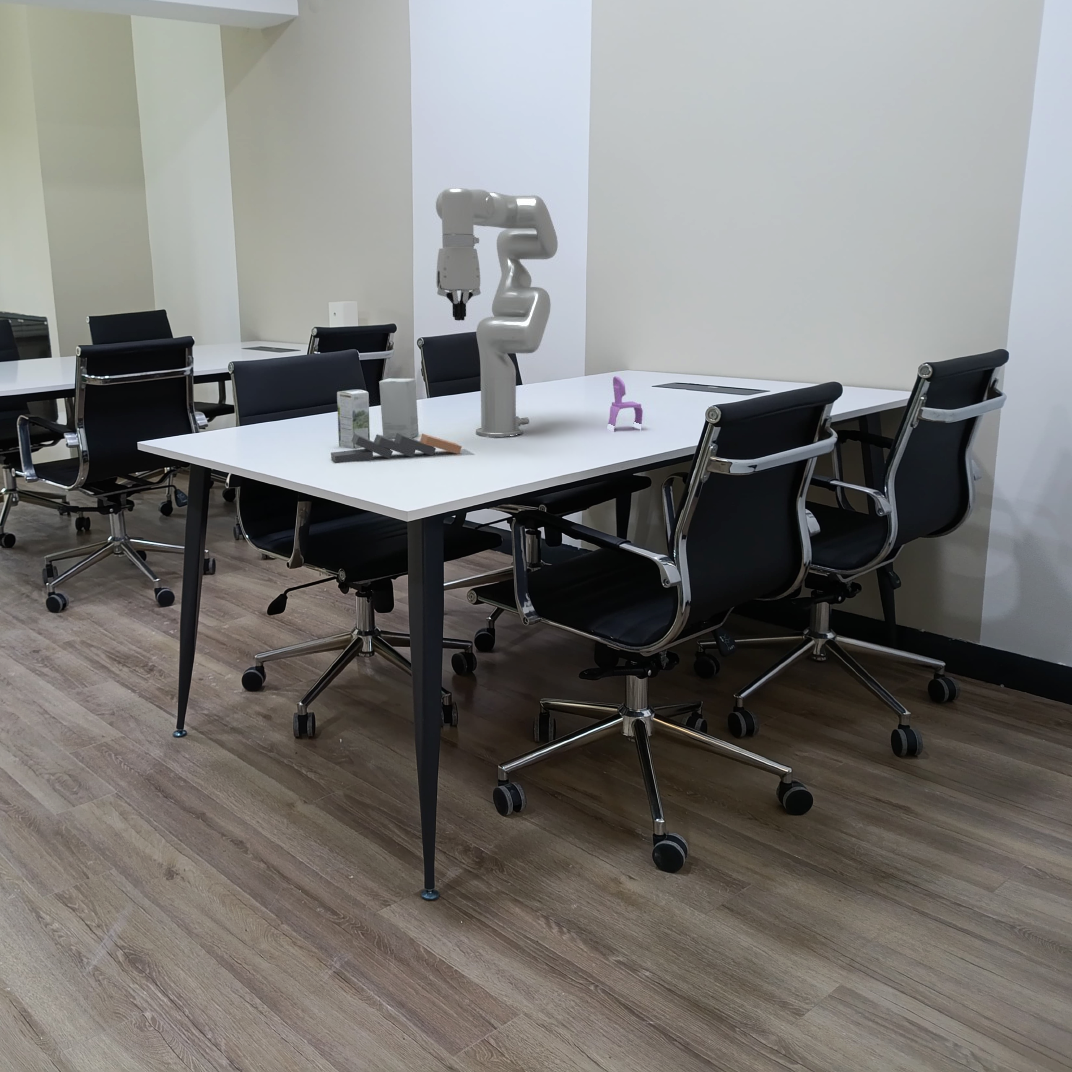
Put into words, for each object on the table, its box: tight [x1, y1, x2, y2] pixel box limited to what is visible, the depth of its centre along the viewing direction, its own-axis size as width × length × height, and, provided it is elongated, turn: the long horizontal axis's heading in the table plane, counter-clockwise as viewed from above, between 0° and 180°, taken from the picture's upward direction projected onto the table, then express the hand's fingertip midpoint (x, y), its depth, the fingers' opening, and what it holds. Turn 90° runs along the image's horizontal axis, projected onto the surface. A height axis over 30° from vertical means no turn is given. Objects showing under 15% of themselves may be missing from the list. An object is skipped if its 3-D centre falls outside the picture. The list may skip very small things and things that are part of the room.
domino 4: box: [393, 433, 437, 456], centre depth 254 cm, size 2×5×9 cm
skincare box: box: [378, 377, 419, 439], centre depth 281 cm, size 8×7×16 cm
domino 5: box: [419, 433, 463, 454], centre depth 256 cm, size 2×5×9 cm
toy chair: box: [607, 376, 644, 427], centre depth 294 cm, size 8×9×15 cm
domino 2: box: [351, 434, 394, 459], centre depth 250 cm, size 2×5×9 cm
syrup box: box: [336, 389, 371, 450], centre depth 266 cm, size 6×6×14 cm
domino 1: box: [330, 448, 374, 464], centre depth 249 cm, size 2×5×9 cm
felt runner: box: [369, 448, 475, 463], centre depth 255 cm, size 26×8×1 cm, turn 111°
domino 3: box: [373, 434, 417, 457], centre depth 252 cm, size 2×5×9 cm
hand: (459, 320), depth 257 cm, fingers closed
